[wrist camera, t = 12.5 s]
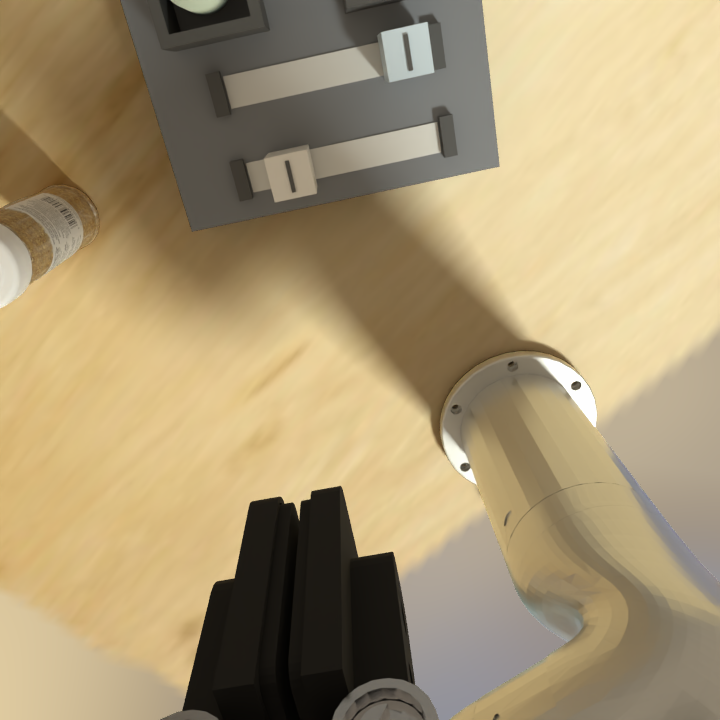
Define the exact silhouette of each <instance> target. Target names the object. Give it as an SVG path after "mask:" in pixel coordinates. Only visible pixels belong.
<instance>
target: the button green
mask: <svg viewBox="0 0 720 720" xmlns="http://www.w3.org/2000/svg"><path fill="white" fill-rule="evenodd" d="M171 1H172V2H173V3H174V4H176V5H177V6H179V7H181V8H184V9H186V10H188V11H190V12H192V13H195V14H198V15H210V14H214V13H216V12H218V11H219V10H221V9H222V8H223V7H224V6H225V4H226V3H227V1H228V0H171Z"/></svg>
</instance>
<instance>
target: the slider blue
mask: <svg viewBox="0 0 720 720" xmlns="http://www.w3.org/2000/svg"><path fill="white" fill-rule="evenodd" d="M377 38H378V44H379V50H380V55H381V61H382V67H383V73H384V79H385V82H394V81H399V80H403V79H408V78H412V77H417V76H421V75H426V74H431V73H434V66H433V58H432V51H431V44H430V37H429V30H428V22H425V23H420V24H416V25H411V26H407V27H402V28H398V29H393V30H389V31H384V32H381V33H379V34H378V35H377Z"/></svg>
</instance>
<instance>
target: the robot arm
mask: <svg viewBox="0 0 720 720" xmlns="http://www.w3.org/2000/svg"><path fill="white" fill-rule="evenodd" d="M509 362H512V363H511V364H508V363H509ZM574 381H575V382H574ZM573 382H574V383H573ZM454 405H456V406H455V407H453V406H454ZM596 420H597V409H596V403H595V398H594V396H593V394H592V391H591V389H590V387H589V385H588V384H587V383H586V381H585V380H584V378H583V377H582V376H581V375H580V374H579V373H578V372H577V371H576V369H575V368H574V367H572V366H571V365H569V364H568V363H566V362H565V361H564V360H562V359H559V358H557V357H555V356H552V355H550V354H545V353H541V352H536V351H517V352H511V353H505V354H502V355H499V356H496V357H493V358H490V359H488V360H486V361H484V362H482V363H480V364H479V365H477V366H475V367H474V368H473V369H471V370H470V371H469V372H467V373H466V374H465V375H464V376H463V377H462V378H461V379H460V380H459V381H458V382H457V383H456V385H455V386H454V387H453V389H452V390H451V392H450V394H449V395H448V397H447V398H446V401H445V404H444V406H443V409H442V412H441V418H440V437H441V441H442V445H443V449H444V451H445V453H446V456H447V458H448V460H449V462H450V463H451V464H452V466H453V467H454V469H455V470H456V471H457V472H458V473H459V474H461V475H462V476H463V477H464V478H465V479H467V480H468V481H470V482H472V483H473V484H475V485H477V486H478V489H479V491H480V494H481V497H482V500H483V502H484V505H485V508H486V511H487V513H488V516H489V519H490V522H491V524H492V527H493V530H494V533H495V535H496V538H497V541H498V543H499V546H500V549H501V552H502V555H503V557H504V560H505V563H506V566H507V568H508V571H509V574H510V576H511V579H512V581H513V584H514V587H515V590H516V592H517V594H518V596H519V597H520V599H521V601H522V602H523V604H524V605H525V607H526V608H527V610H528V611H529V612H530V613H531V614H532V615H533V617H535V618H536V619H537V620H538V621H539V622H540V623H541V624H542V625H543V626H544V627H545V628H547V629H548V630H549V631H551V632H552V633H554V634H556V635H557V636H559V637H560V638H562V639H563V640H565V641H567V643H566V644H564V645H563V646H561V647H560V648H558V649H556V650H555V651H553V652H552V653H550V654H549V655H548V657H546V658H545V659H543V660H541V661H539V662H538V663H537V664H535V665H533V666H531V667H530V668H528V669H526V670H525V671H523V672H521V673H520V674H518V675H517V676H515V677H513V678H512V679H510V680H509V681H507V682H505V683H503V684H502V685H500V686H498V687H497V688H495V689H494V690H492V691H490V692H489V693H487V694H485V695H484V696H482V697H481V698H480V699H478V700H477V701H475V702H473V703H472V704H470V705H469V706H467V707H466V708H464V709H463V710H461V711H460V712H459V713H457V714H456V715H454V716H453V717H452V718H451V719H450V720H720V582H719V581H718V580H717V579H716V578H715V577H714V576H713V575H712V574H711V573H710V572H709V571H708V570H707V569H706V568H705V567H704V566H703V565H702V563H701V562H700V561H699V560H698V558H697V557H696V556H695V555H694V554H693V552H692V551H691V550H690V549H689V548H688V546H687V545H686V544H685V543H684V542H683V540H682V539H681V538H680V537H679V536H678V535H677V533H676V532H675V531H674V530H673V529H672V527H671V526H670V524H669V523H668V522H667V521H666V519H665V518H664V517H663V516H662V514H661V513H660V512H659V510H658V509H657V508H656V506H655V505H654V504H653V502H652V501H651V500H650V498H649V497H648V496H647V494H646V493H645V492H644V490H643V489H642V488H641V487H640V485H639V484H638V483H637V481H636V480H635V479H634V477H633V476H632V475H631V473H630V472H629V471H628V470H627V468H626V467H625V465H624V464H623V463H622V462H621V460H620V459H619V458H618V456H617V455H616V454H615V452H614V451H613V450H612V448H611V447H610V446H609V444H608V443H607V442H606V441H605V439H604V438H603V437H602V435H601V434H600V433H599V431H598V430H597V429H596ZM161 720H439V719H438V715H437V713H436V710H435V708H434V706H433V704H432V702H431V700H430V698H429V697H428V696H427V695H426V694H425V693H424V692H423V691H422V690H421V689H420V688H419V687H418V686H416V685H415V681H414V672H413V665H412V658H411V650H410V644H409V635H408V629H407V623H406V615H405V609H404V603H403V597H402V592H401V587H400V581H399V577H398V572H397V567H396V562H395V557H394V553H393V552H388V553H382V554H376V555H370V556H364V557H359V558H358V554H357V550H356V545H355V541H354V537H353V532H352V528H351V524H350V519H349V515H348V511H347V506H346V502H345V497H344V493H343V490H342V487H341V486H338V487H333V488H327V489H321V490H315V491H312V492H311V499H310V500H304V501H301V508H300V520H299V519H298V515H297V511H296V508H295V505H294V503H287V504H284V501H283V499H282V498H281V497H275V498H269V499H264V500H258V501H252V502H251V503H250V505H249V510H248V515H247V520H246V525H245V530H244V534H243V539H242V544H241V549H240V554H239V559H238V564H237V569H236V574H235V579H229V580H223V581H217V582H216V583H215V584H214V585H213V588H212V591H211V595H210V599H209V603H208V607H207V611H206V615H205V620H204V624H203V628H202V632H201V636H200V640H199V644H198V648H197V653H196V657H195V661H194V665H193V669H192V673H191V677H190V681H189V686H188V690H187V694H186V698H185V703H184V706H183V710H182V711H181V712H176V713H174V714H172V715H170V716H167V717H165V718H163V719H161Z"/></svg>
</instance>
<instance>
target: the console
mask: <svg viewBox="0 0 720 720" xmlns="http://www.w3.org/2000/svg"><path fill="white" fill-rule="evenodd" d="M120 1H121V4H122V7H123V10H124V14H125V17H126V20H127V23H128V27H129V30H130V33H131V36H132V40H133V43H134V46H135V49H136V52H137V56H138V59H139V62H140V65H141V69H142V72H143V75H144V78H145V81H146V85H147V88H148V91H149V94H150V98H151V101H152V104H153V107H154V110H155V114H156V117H157V120H158V123H159V127H160V130H161V133H162V136H163V139H164V143H165V146H166V149H167V152H168V156H169V159H170V162H171V165H172V168H173V172H174V175H175V178H176V181H177V185H178V188H179V191H180V194H181V198H182V201H183V204H184V207H185V210H186V214H187V217H188V220H189V223H190V227H191V230H192V232H193V231H198V230H202V229H207V228H212V227H216V226H221V225H226V224H231V223H235V222H240V221H245V220H250V219H254V218H259V217H264V216H268V215H273V214H278V213H283V212H287V211H292V210H297V209H301V208H306V207H311V206H316V205H320V204H325V203H330V202H334V201H339V200H344V199H349V198H353V197H358V196H363V195H367V194H372V193H377V192H382V191H386V190H391V189H396V188H400V187H405V186H410V185H415V184H419V183H424V182H429V181H433V180H438V179H443V178H448V177H452V176H457V175H462V174H466V173H471V172H476V171H481V170H485V169H490V168H495V167H500V166H499V157H498V148H497V138H496V129H495V120H494V110H493V101H492V91H491V82H490V73H489V63H488V54H487V45H486V35H485V26H484V17H483V7H482V0H228V1H227V3H226V4H225V6H224V7H223V8H222V9H221V10H219V11H218V12H216V13H214V14H210V15H198V14H195V13H192V12H190V11H188V10H186V9H184V8H181V7H179V6H177V5H176V4H174V3H173V2H172V1H171V0H120ZM425 22H428V30H429V37H430V44H431V51H432V58H433V66H434V73H431V74H426V75H421V76H417V77H412V78H408V79H403V80H399V81H394V82H385V79H384V73H383V67H382V61H381V55H380V50H379V44H378V38H377V35H378V34H379V33H381V32H384V31H389V30H393V29H398V28H402V27H407V26H411V25H416V24H420V23H425ZM307 144H308V145H309V150H310V154H311V159H312V163H313V168H314V172H315V177H316V181H317V194H313V195H308V196H303V197H299V198H294V199H289V200H285V201H280V202H274V198H273V194H272V190H271V186H270V182H269V178H268V174H267V170H266V166H265V162H264V158H265V157H266V155H267V154H268V153H270V152H275V151H280V150H284V149H289V148H294V147H298V146H303V145H307Z"/></svg>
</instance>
